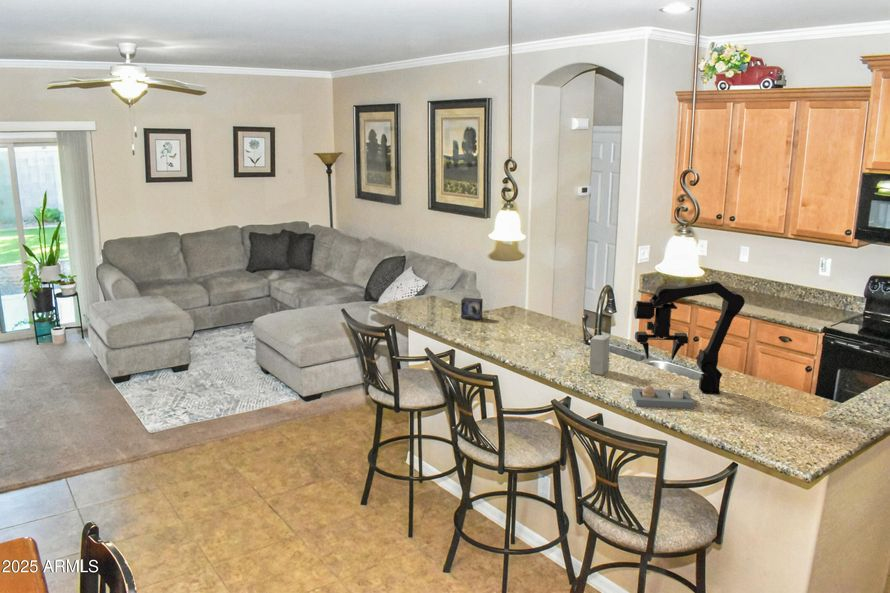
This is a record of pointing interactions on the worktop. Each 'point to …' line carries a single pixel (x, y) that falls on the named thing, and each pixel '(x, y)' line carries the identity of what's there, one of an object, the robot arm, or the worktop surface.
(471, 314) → the small box
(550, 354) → the worktop surface
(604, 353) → the skincare box
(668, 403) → the egg carton
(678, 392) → the egg
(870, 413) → the worktop surface
